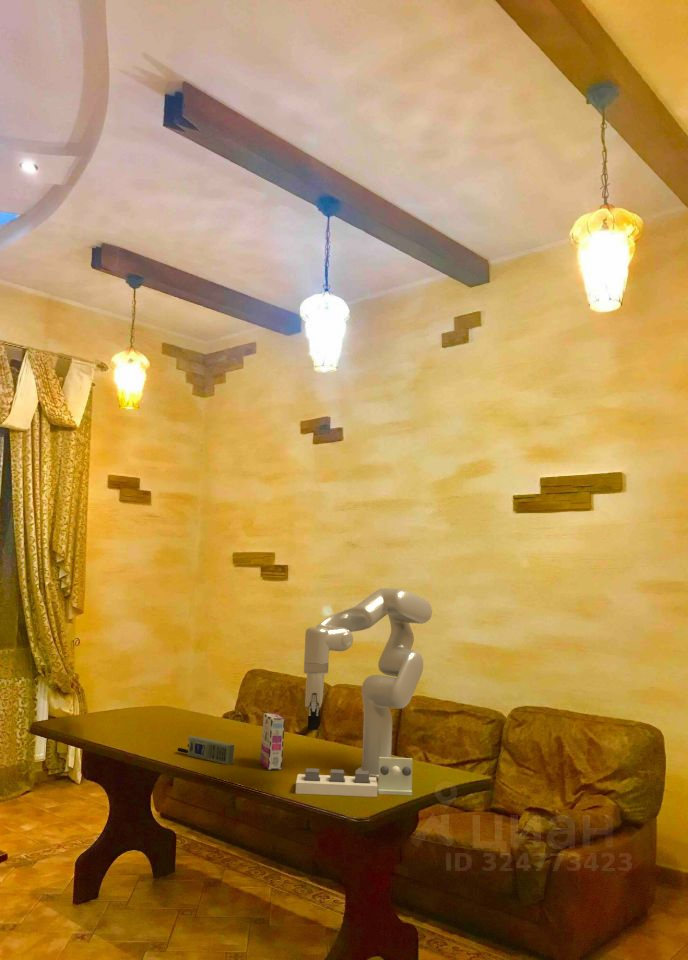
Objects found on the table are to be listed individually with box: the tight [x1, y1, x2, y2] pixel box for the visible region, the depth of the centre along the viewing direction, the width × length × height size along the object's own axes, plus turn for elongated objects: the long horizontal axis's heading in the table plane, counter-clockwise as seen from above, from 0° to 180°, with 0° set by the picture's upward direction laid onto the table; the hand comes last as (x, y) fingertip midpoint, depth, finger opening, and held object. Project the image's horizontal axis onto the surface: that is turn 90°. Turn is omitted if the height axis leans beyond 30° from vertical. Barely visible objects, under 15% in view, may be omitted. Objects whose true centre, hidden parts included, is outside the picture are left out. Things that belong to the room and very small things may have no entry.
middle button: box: [330, 768, 345, 782], centre depth 215 cm, size 4×4×3 cm
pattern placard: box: [377, 756, 413, 796], centre depth 216 cm, size 10×4×10 cm, turn 90°
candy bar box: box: [259, 712, 286, 771], centre depth 242 cm, size 11×5×16 cm, turn 21°
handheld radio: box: [177, 735, 235, 766], centre depth 248 cm, size 7×3×25 cm
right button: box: [354, 769, 369, 783], centre depth 215 cm, size 4×4×3 cm
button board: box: [295, 773, 378, 798], centre depth 215 cm, size 24×10×3 cm, turn 90°
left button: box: [304, 767, 320, 781], centre depth 215 cm, size 4×4×3 cm
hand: (313, 726), depth 218 cm, fingers open, 9 cm apart
